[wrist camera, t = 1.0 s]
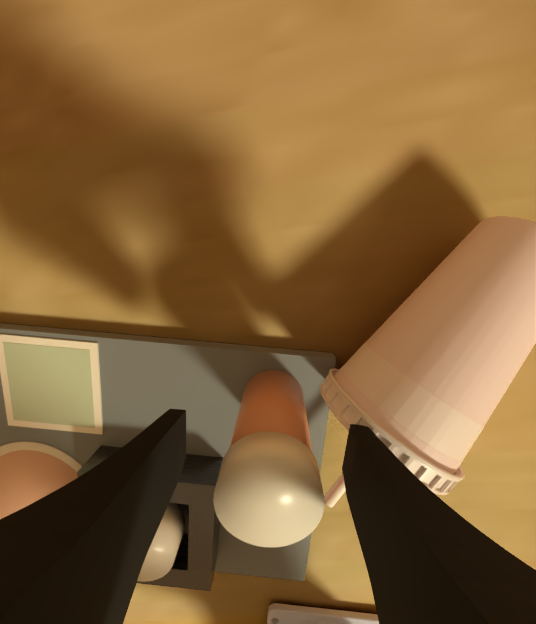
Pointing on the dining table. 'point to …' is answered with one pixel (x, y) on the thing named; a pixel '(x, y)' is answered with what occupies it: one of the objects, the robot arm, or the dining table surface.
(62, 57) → the dining table surface
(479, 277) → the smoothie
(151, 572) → the button
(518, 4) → the dining table surface
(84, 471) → the button collar
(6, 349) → the picture board
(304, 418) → the terracotta marker
